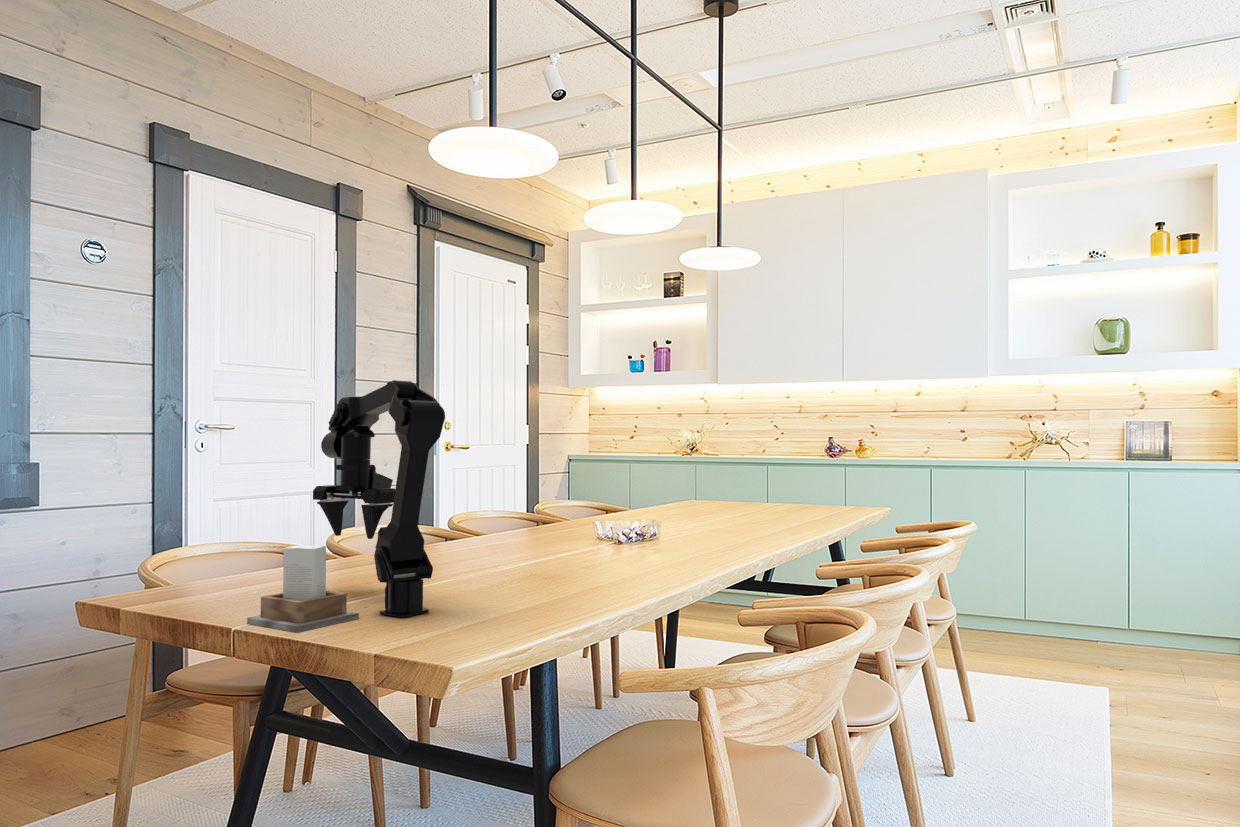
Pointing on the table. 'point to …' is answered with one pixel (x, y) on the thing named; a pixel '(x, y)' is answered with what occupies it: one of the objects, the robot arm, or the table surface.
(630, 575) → the table surface
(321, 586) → the skincare box
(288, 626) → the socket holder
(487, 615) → the table surface
